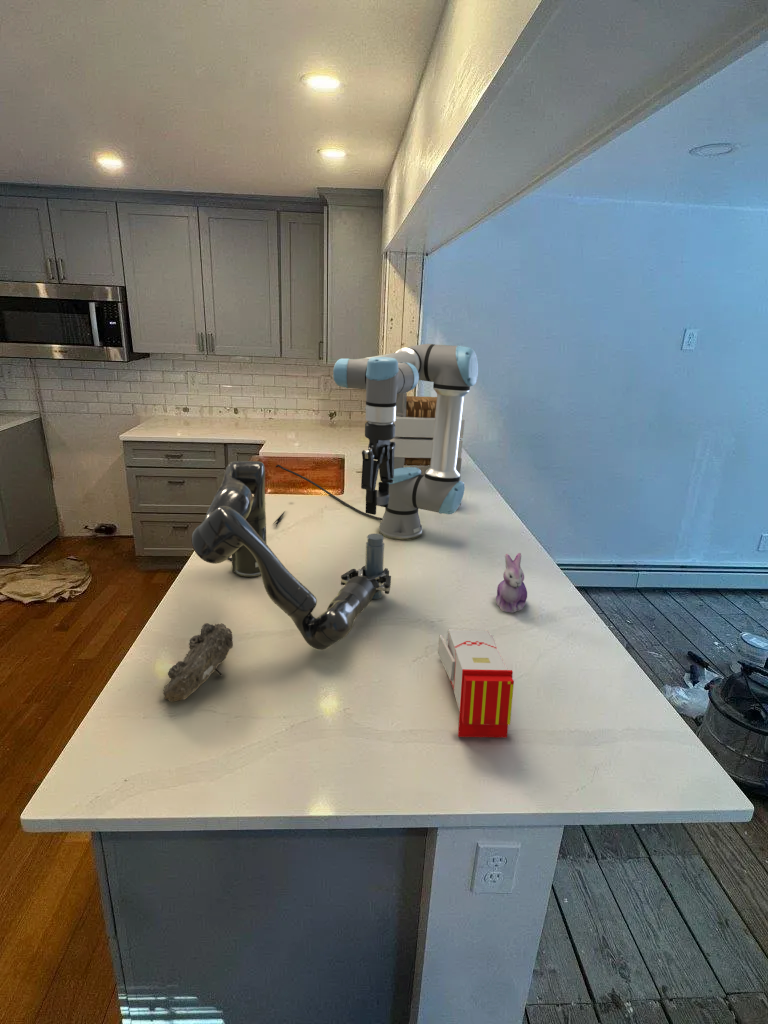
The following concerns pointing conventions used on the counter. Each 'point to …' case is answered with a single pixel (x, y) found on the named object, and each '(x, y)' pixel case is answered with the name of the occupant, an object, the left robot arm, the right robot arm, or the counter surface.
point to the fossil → (199, 661)
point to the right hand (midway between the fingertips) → (376, 509)
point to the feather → (278, 519)
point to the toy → (478, 682)
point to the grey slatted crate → (417, 431)
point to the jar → (374, 558)
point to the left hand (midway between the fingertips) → (377, 569)
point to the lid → (382, 498)
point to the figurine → (512, 586)
